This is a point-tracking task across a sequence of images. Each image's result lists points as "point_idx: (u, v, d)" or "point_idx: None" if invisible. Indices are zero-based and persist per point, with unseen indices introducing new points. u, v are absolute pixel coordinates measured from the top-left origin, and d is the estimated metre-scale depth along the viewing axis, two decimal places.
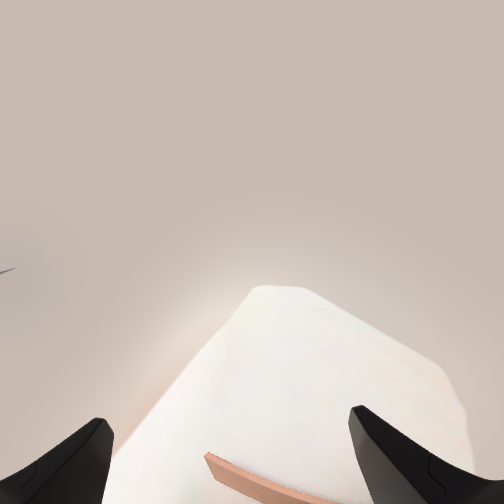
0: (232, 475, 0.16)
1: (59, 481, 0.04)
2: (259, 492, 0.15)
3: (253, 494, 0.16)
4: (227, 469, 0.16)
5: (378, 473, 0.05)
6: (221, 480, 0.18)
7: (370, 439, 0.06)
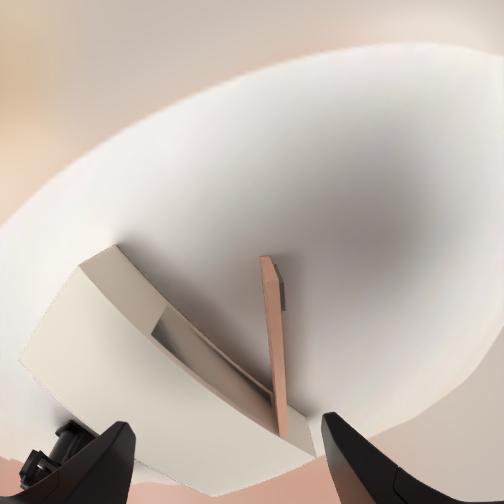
0: None
1: (83, 490, 0.04)
2: (270, 345, 0.16)
3: (267, 325, 0.18)
4: (270, 322, 0.14)
5: (345, 483, 0.05)
6: (262, 275, 0.17)
7: (337, 448, 0.06)
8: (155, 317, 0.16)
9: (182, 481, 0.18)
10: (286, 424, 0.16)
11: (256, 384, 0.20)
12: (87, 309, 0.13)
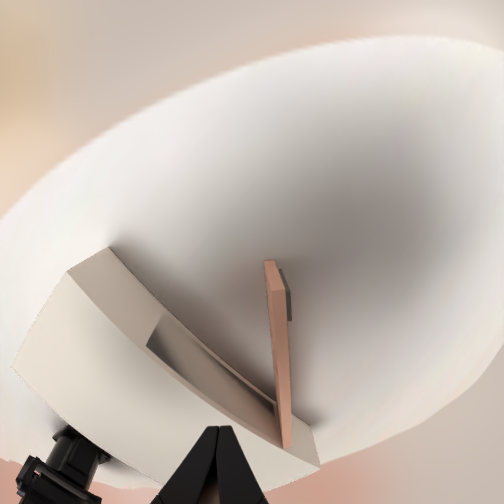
0: (273, 331, 0.14)
1: None
2: (274, 356, 0.15)
3: (271, 334, 0.16)
4: (275, 333, 0.13)
5: None
6: (266, 281, 0.16)
7: (216, 462, 0.06)
8: (150, 326, 0.14)
9: None
10: (290, 437, 0.15)
11: (259, 394, 0.19)
12: (78, 318, 0.12)
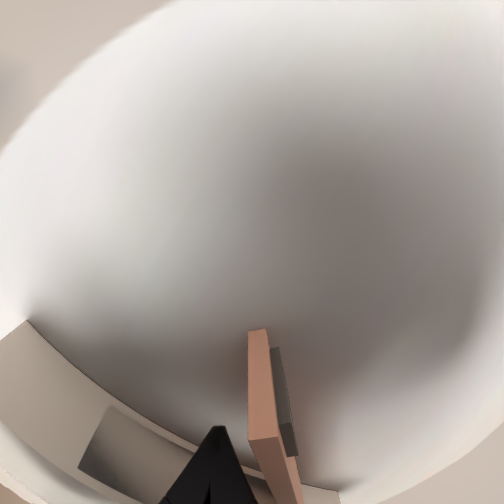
0: None
1: None
2: None
3: None
4: None
5: None
6: None
7: (208, 462, 0.06)
8: (86, 435, 0.07)
9: None
10: None
11: (264, 480, 0.11)
12: None
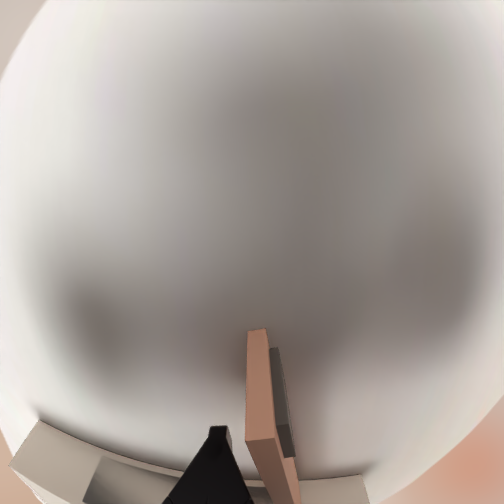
0: None
1: None
2: None
3: None
4: None
5: None
6: None
7: (205, 462, 0.06)
8: (86, 479, 0.09)
9: None
10: None
11: (252, 487, 0.12)
12: (41, 491, 0.07)
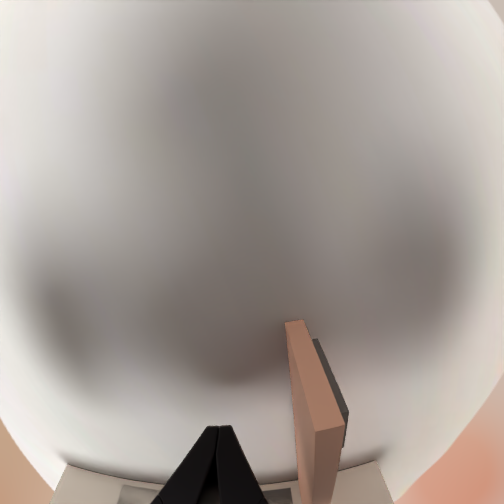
0: (308, 458, 0.06)
1: None
2: (303, 465, 0.08)
3: (297, 431, 0.09)
4: (313, 474, 0.05)
5: None
6: (290, 360, 0.08)
7: (216, 462, 0.06)
8: None
9: None
10: None
11: None
12: None
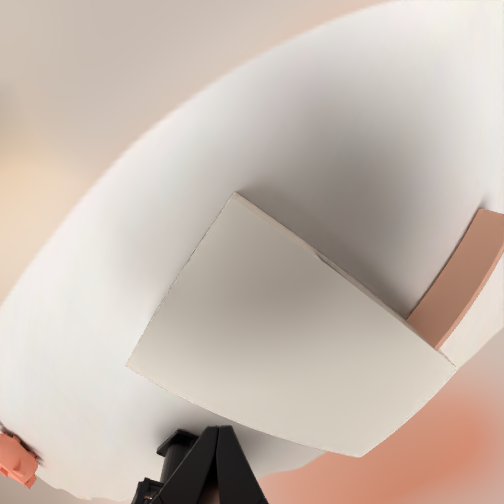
0: (494, 242, 0.15)
1: None
2: (472, 262, 0.16)
3: (466, 250, 0.17)
4: (502, 241, 0.14)
5: None
6: (480, 218, 0.17)
7: (216, 462, 0.06)
8: (310, 249, 0.15)
9: (333, 448, 0.18)
10: (447, 336, 0.15)
11: (393, 310, 0.19)
12: (247, 250, 0.13)
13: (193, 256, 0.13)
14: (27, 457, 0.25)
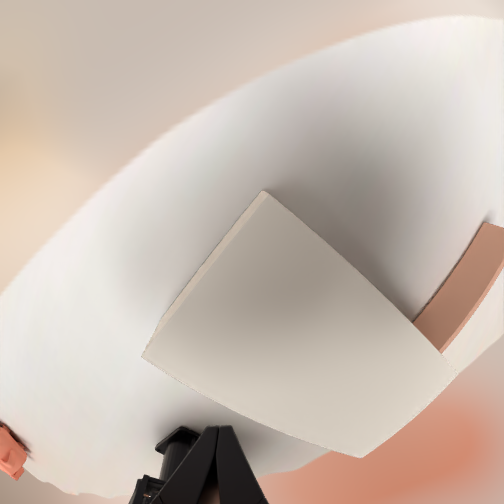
0: (497, 253, 0.15)
1: None
2: (475, 272, 0.17)
3: (471, 261, 0.18)
4: None
5: None
6: (484, 231, 0.18)
7: (216, 462, 0.06)
8: None
9: (337, 447, 0.18)
10: (451, 340, 0.16)
11: None
12: (279, 245, 0.14)
13: (226, 248, 0.13)
14: (17, 448, 0.24)
